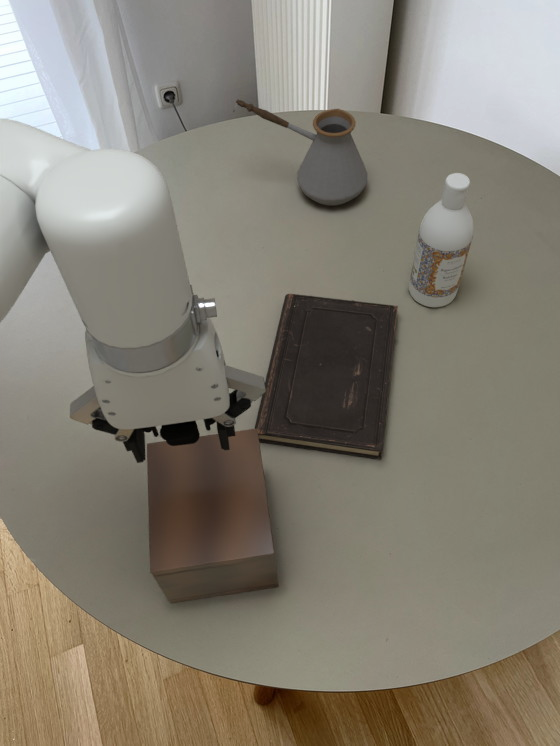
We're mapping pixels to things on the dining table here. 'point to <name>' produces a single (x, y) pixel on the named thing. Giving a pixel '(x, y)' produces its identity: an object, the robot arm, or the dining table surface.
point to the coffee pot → (326, 156)
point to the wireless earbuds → (180, 432)
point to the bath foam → (442, 246)
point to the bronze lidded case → (209, 518)
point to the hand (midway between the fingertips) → (182, 441)
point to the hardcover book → (329, 376)
